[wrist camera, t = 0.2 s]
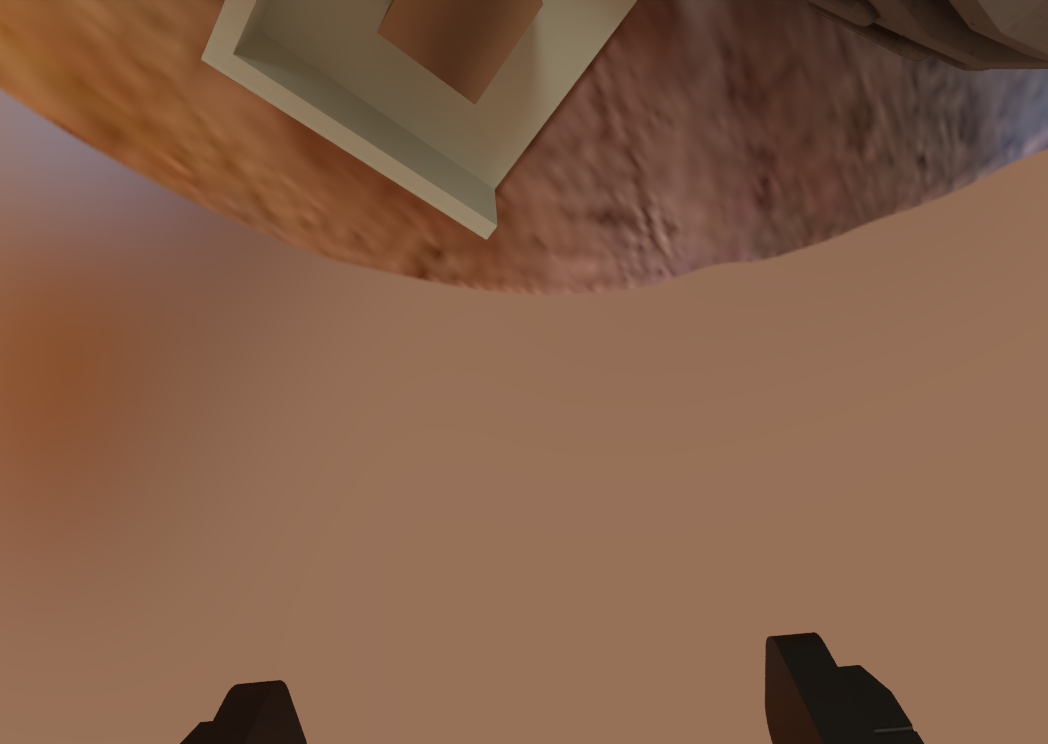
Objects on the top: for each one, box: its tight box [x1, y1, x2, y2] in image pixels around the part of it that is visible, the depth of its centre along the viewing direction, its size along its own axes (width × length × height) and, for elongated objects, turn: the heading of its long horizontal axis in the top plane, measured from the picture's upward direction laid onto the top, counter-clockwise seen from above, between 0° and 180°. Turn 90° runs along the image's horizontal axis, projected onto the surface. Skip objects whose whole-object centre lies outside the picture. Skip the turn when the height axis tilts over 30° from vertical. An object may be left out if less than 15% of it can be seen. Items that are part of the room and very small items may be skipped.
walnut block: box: [377, 0, 543, 105], centre depth 29 cm, size 5×5×5 cm
